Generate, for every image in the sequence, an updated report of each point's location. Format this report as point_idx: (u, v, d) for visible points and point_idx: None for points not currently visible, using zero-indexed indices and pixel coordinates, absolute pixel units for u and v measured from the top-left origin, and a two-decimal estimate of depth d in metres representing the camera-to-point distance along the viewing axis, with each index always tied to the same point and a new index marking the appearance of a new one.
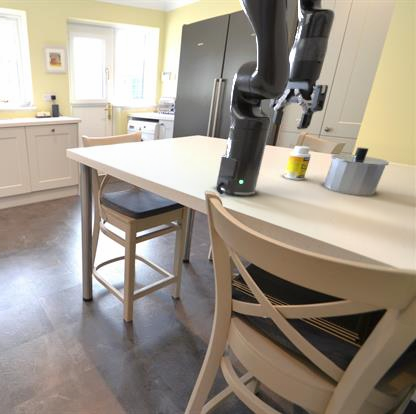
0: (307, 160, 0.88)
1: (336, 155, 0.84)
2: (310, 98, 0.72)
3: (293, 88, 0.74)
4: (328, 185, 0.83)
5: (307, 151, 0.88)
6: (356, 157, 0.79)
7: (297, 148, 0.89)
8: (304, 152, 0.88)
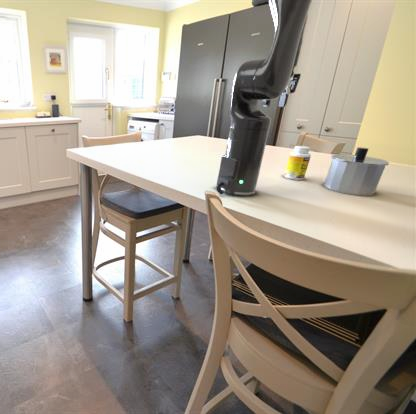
0: (307, 160, 0.88)
1: (336, 155, 0.84)
2: None
3: None
4: (328, 185, 0.83)
5: (307, 151, 0.88)
6: (356, 157, 0.79)
7: (297, 148, 0.89)
8: (304, 152, 0.88)
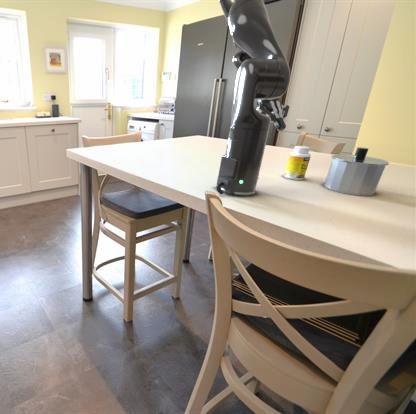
0: (307, 160, 0.88)
1: (336, 155, 0.84)
2: None
3: None
4: (328, 185, 0.83)
5: (307, 151, 0.88)
6: (356, 157, 0.79)
7: (297, 148, 0.89)
8: (304, 152, 0.88)
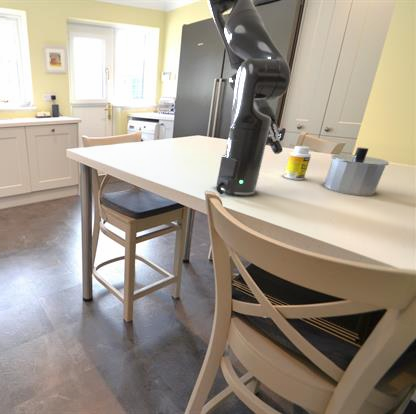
0: (307, 160, 0.88)
1: (336, 155, 0.84)
2: None
3: None
4: (328, 185, 0.83)
5: (307, 151, 0.88)
6: (356, 157, 0.79)
7: (297, 148, 0.89)
8: (303, 152, 0.88)
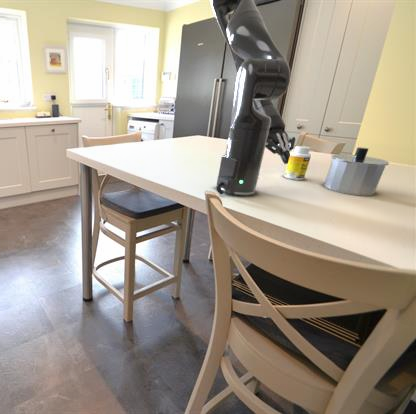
0: (307, 160, 0.88)
1: (336, 155, 0.84)
2: None
3: None
4: (328, 185, 0.83)
5: (307, 151, 0.88)
6: (356, 157, 0.79)
7: (297, 148, 0.89)
8: (304, 153, 0.88)
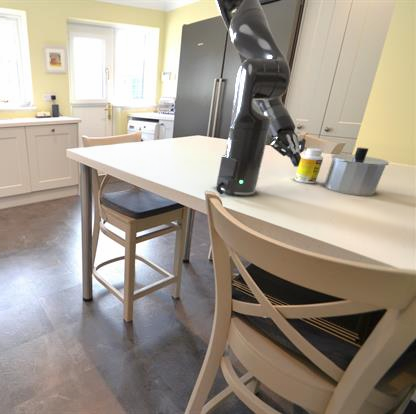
0: (320, 163, 0.85)
1: (336, 155, 0.84)
2: None
3: None
4: (328, 185, 0.83)
5: (320, 154, 0.85)
6: (356, 157, 0.79)
7: (309, 150, 0.86)
8: (316, 155, 0.85)
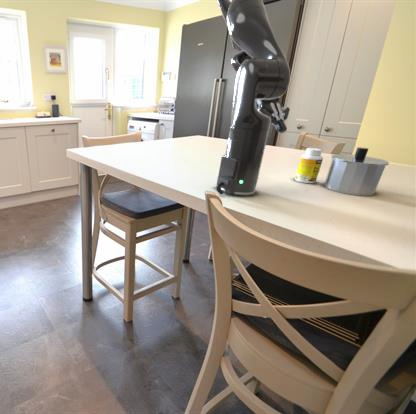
0: (319, 163, 0.85)
1: (336, 155, 0.84)
2: None
3: None
4: (328, 185, 0.83)
5: (319, 153, 0.85)
6: (356, 157, 0.79)
7: (309, 150, 0.86)
8: (316, 155, 0.85)
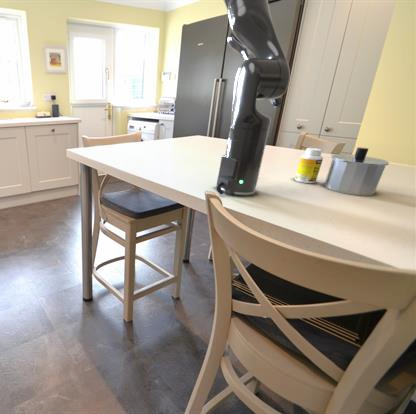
0: (319, 163, 0.85)
1: (336, 155, 0.84)
2: None
3: None
4: (328, 185, 0.83)
5: (319, 153, 0.85)
6: (356, 157, 0.79)
7: (309, 150, 0.86)
8: (316, 155, 0.85)
